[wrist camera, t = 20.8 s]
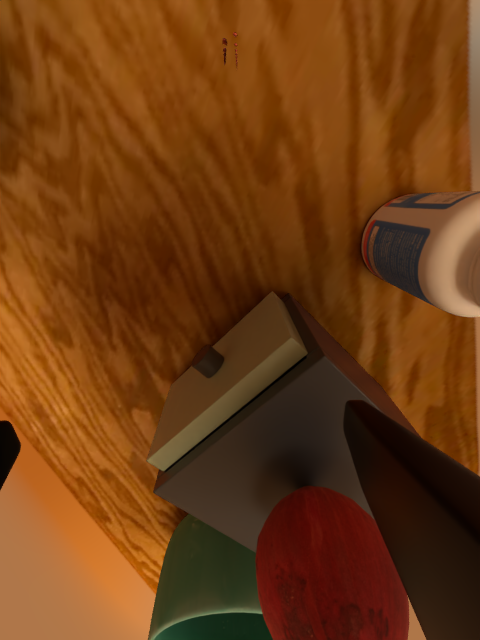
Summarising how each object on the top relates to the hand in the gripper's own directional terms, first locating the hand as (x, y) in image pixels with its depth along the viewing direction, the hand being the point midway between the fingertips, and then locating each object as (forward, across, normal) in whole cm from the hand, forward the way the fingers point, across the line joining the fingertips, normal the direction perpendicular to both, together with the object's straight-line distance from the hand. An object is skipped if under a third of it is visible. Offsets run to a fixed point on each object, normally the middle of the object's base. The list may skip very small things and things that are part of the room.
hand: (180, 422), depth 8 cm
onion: (+5, -5, +9) cm, 11 cm away
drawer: (+12, -3, +7) cm, 14 cm away
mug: (+13, -2, +24) cm, 28 cm away
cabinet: (+13, -5, +9) cm, 17 cm away
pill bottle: (+13, -12, -2) cm, 18 cm away
